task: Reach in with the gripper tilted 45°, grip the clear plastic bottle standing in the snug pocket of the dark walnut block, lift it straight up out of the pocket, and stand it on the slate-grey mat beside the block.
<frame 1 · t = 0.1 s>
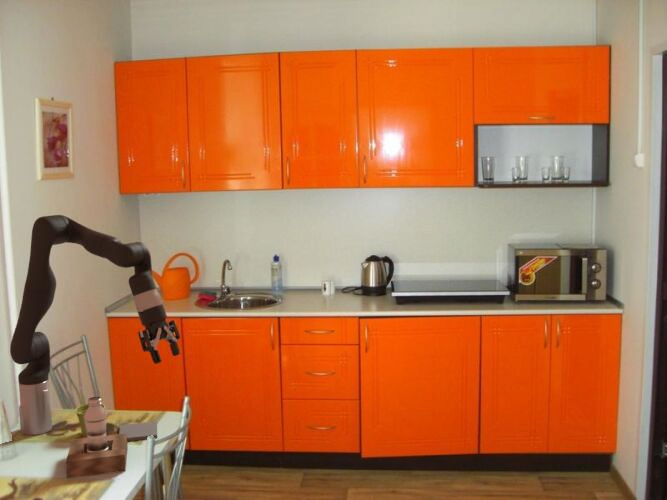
hand: (167, 359, 199), 31 cm above the table, tool tilted 20°, fingers open, 8 cm apart
plastic bottle: (98, 463, 202), resting in pocket block
slate mat: (138, 432, 224), on the table
plant pot: (91, 433, 224), on the table
pocket block: (98, 462, 202), on the table
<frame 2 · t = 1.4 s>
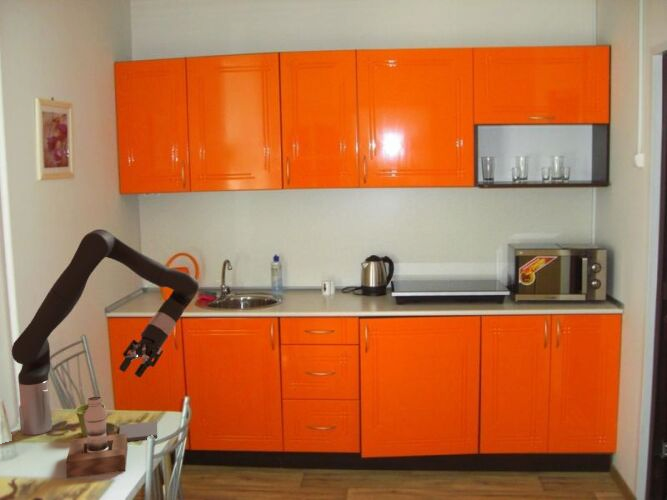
hand: (129, 373, 208), 25 cm above the table, tool tilted 45°, fingers open, 8 cm apart
nothing on the table moved.
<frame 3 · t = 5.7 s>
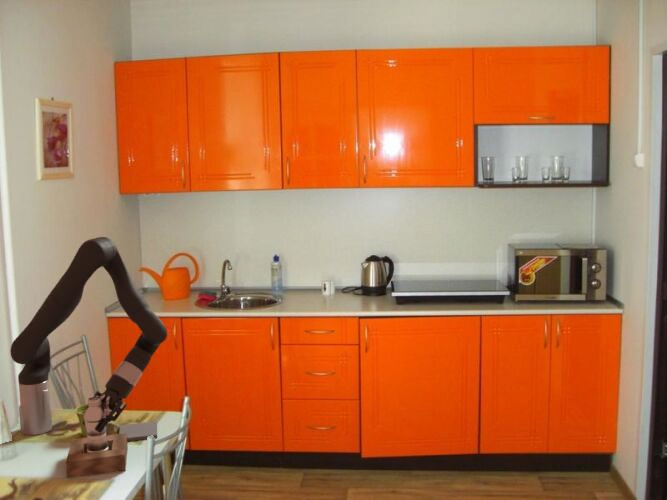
hand: (91, 428, 199), 11 cm above the table, tool tilted 45°, fingers closed on plastic bottle, 6 cm apart
plastic bottle: (98, 463, 202), resting in pocket block, touching gripper
everything else where it was.
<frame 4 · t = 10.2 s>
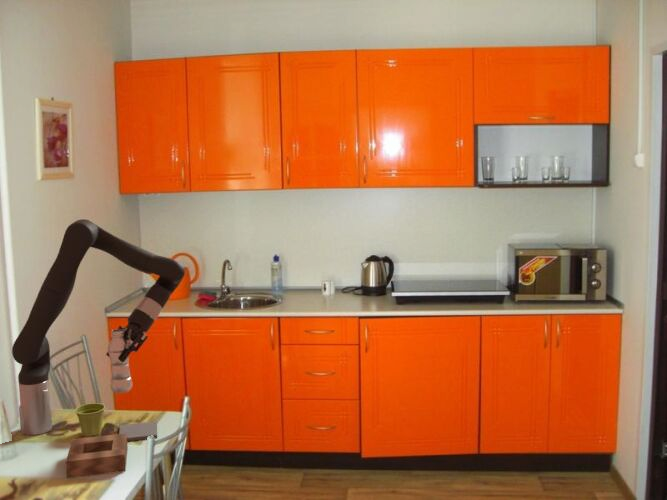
hand: (114, 358, 210), 28 cm above the table, tool tilted 45°, fingers closed on plastic bottle, 6 cm apart
plastic bottle: (121, 392, 213), point 17 cm above the table, touching gripper
everything else where it was.
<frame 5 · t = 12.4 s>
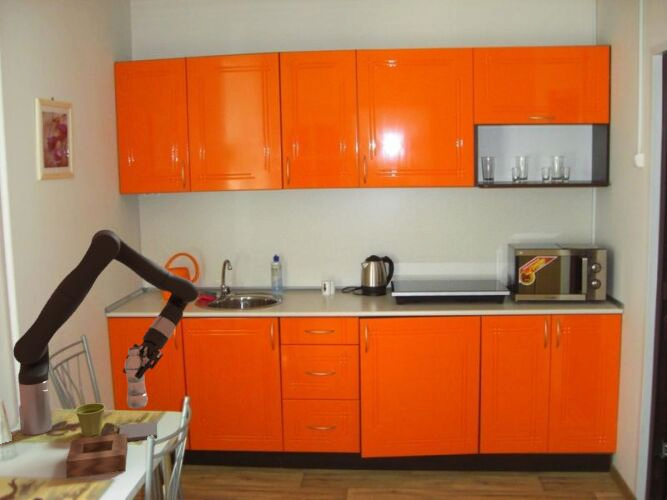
hand: (131, 375, 220), 20 cm above the table, tool tilted 45°, fingers closed on plastic bottle, 6 cm apart
plastic bottle: (137, 407, 223), point 9 cm above the table, touching gripper
everything else where it was.
when the fingers open (14 cm above the table, at t = 14.6 s): plastic bottle drops 1 cm, resting on slate mat.
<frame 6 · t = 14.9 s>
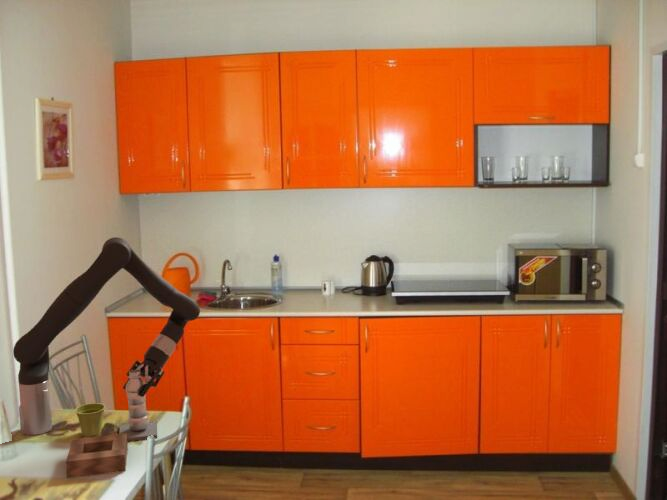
hand: (132, 392, 221), 14 cm above the table, tool tilted 45°, fingers open, 8 cm apart
plastic bottle: (138, 430, 224), point 1 cm above the table, touching slate mat
everything else where it was.
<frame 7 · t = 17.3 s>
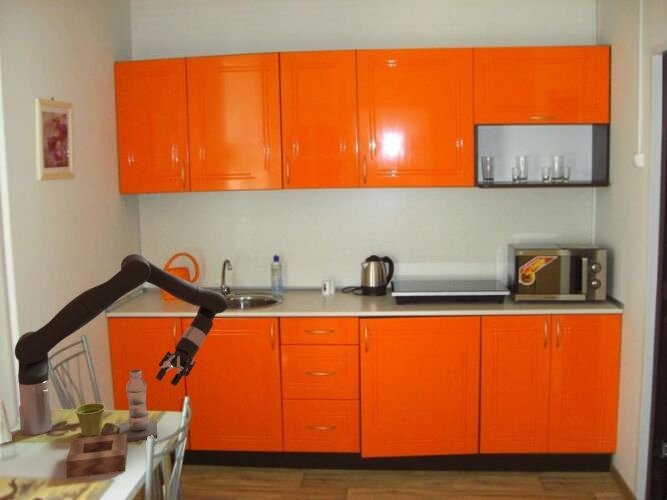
hand: (165, 382, 230), 14 cm above the table, tool tilted 45°, fingers open, 8 cm apart
nothing on the table moved.
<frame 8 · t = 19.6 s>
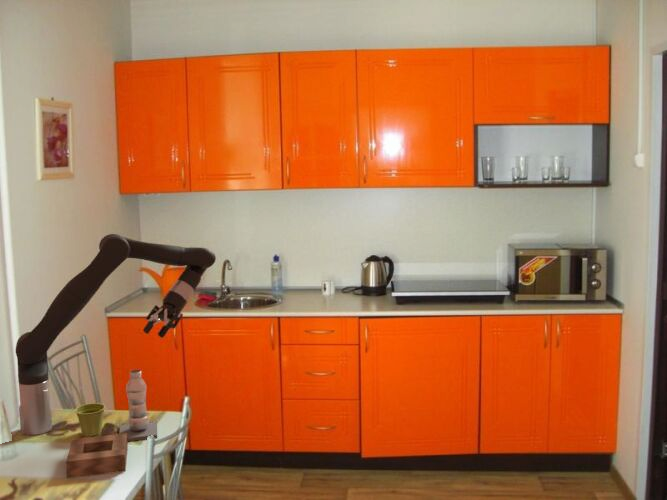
hand: (152, 334, 230), 31 cm above the table, tool tilted 45°, fingers open, 8 cm apart
nothing on the table moved.
at the end: plastic bottle inside the target area on the slate mat (0.3 cm from its centre), point 0.8 cm above the slate mat's base; plastic bottle tilted 0°; the gripper is holding nothing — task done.
